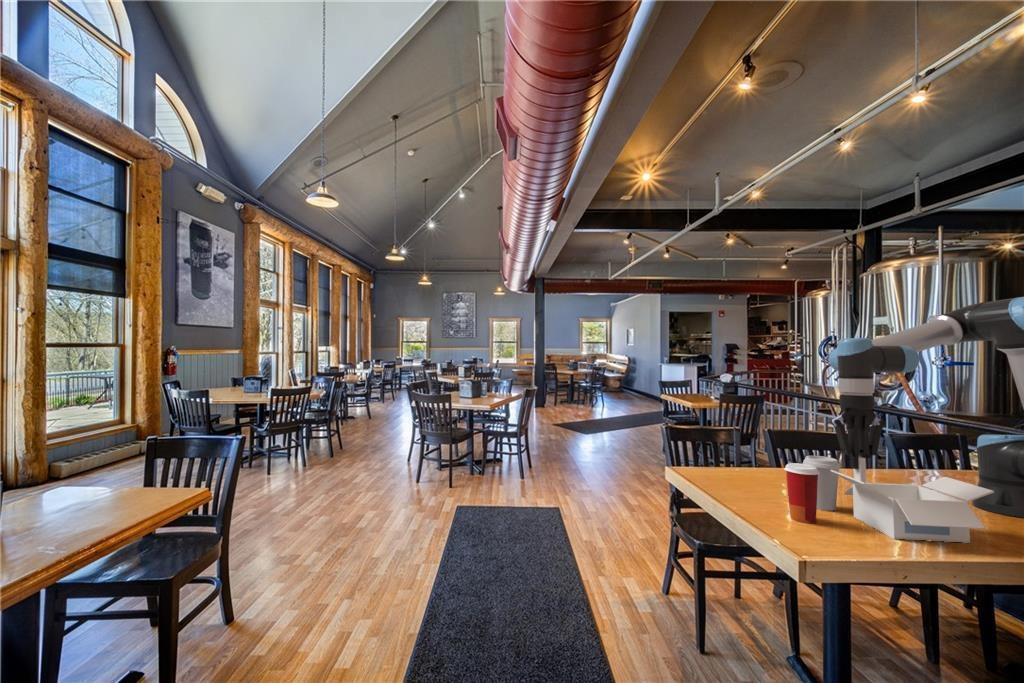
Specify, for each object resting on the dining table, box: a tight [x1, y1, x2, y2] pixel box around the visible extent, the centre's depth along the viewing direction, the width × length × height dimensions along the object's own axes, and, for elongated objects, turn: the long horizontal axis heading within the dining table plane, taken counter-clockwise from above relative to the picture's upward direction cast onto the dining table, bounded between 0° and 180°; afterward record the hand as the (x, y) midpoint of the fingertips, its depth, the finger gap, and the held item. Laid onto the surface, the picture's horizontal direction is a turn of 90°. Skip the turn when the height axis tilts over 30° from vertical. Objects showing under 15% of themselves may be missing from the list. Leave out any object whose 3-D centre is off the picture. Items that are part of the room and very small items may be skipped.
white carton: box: [844, 482, 986, 544], centre depth 113 cm, size 17×25×10 cm
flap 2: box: [921, 476, 994, 503], centre depth 112 cm, size 6×14×1 cm, turn 174°
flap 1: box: [831, 470, 888, 498], centre depth 115 cm, size 6×14×1 cm
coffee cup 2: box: [802, 455, 842, 512], centre depth 130 cm, size 10×10×15 cm
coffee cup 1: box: [783, 462, 819, 524], centre depth 120 cm, size 8×8×15 cm
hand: (860, 481), depth 115 cm, fingers closed
